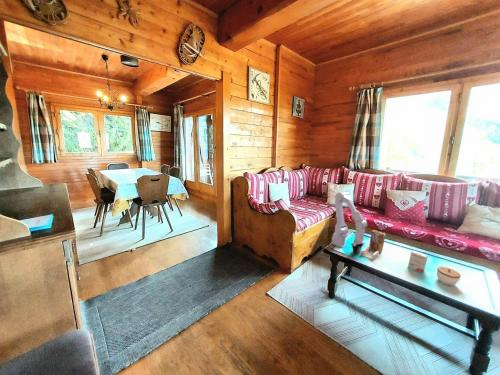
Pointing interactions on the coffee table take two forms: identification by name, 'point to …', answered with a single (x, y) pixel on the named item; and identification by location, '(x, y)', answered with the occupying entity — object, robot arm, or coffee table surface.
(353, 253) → the connector plug
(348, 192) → the robot arm
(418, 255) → the ink box
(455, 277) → the lidded jar
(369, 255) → the end holder
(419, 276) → the coffee table surface
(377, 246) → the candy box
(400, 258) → the coffee table surface
